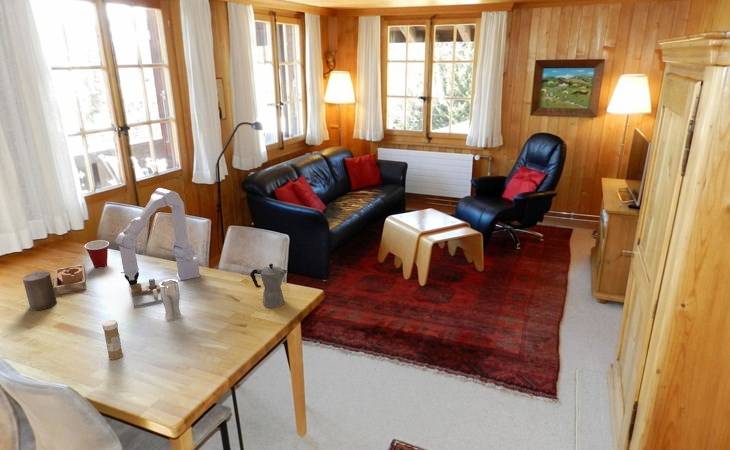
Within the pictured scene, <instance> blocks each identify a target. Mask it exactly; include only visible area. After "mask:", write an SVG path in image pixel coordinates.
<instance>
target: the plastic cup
mask: <svg viewBox="0 0 730 450" xmlns="http://www.w3.org/2000/svg"><path fill="white" fill-rule="evenodd" d="M109 244H110V242H109V241H107V240H104V239H103V240H102V239H101V240H92V241H89V242H87V243H85V244H84V248H85V250H86V251H87V254H88V256H89V259H90V261H91V263H92V265H93V267H94V268H95V269H103V268H105V267H107V266H108V259H109V257H108V250H109V249H108V248H109V246H110V245H109Z"/></svg>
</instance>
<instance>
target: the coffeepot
mask: <svg viewBox="0 0 730 450" xmlns="http://www.w3.org/2000/svg"><path fill="white" fill-rule="evenodd" d="M287 273H288V270H287V269H285V268H284V269H283V268H282V267H281V266H275V265H274V264H273V263H269V264H268V266H266V267H264V268H260V269H256V268H255V269H253V270H252V271H251V272H250V274H249V275H250V277H251V280H252V282H253V285H254V286H255V288H256V289H257V288H262V285H263V287H264V289H263V296H262V304H263V306H264V307H265V308H268V309H275V308H279V307H281V306H283V305H284V303H285V299H284V294H283V291H282V287H281V286H282V283H283V278H284V277H285V275H286V274H287ZM255 274H256V275H260V276H261V277H260V278H261V281H262V285H261V284H259V283H258V281H257V277H256V275H255Z"/></svg>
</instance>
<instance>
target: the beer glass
mask: <svg viewBox="0 0 730 450" xmlns="http://www.w3.org/2000/svg"><path fill="white" fill-rule="evenodd" d="M180 293H181V292H180V287H179V283H178V280H177V279H172V280H166V281H163V282H161V283H160V294H161V299H162V302H161V303H162V305H163V307H164V311H165V316H164V317H165V320H166V321H167V322H168V321H169V322H170V321H173V322H174V321H177V320H179V319H180V318H182V312H181V308H180V299H181V298H180V296H181V295H180Z"/></svg>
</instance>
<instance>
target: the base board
mask: <svg viewBox="0 0 730 450" xmlns="http://www.w3.org/2000/svg"><path fill="white" fill-rule="evenodd" d="M166 280H173V279H172V277H171V276H169V277H165V278H164V277H163V278H159V279H155V278H149V279H148V281H144V282H140V283H141V287H142V288H146V287H145V286H150V289H154V288H156V285H155V284H158V285H159V286H160V283H161V282H163V281H166ZM128 289H129V293H130V297H131V301H132V304H133V308H134V309H137V308H142V307H146V306H149V305H154V304H160V303H163V302H162V299H161V294H160V291H157V289H154V290H153V292H152V293H148V292H147V293H143V294H139V295H135V296H132V294H131V288H130V285H128Z"/></svg>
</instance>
